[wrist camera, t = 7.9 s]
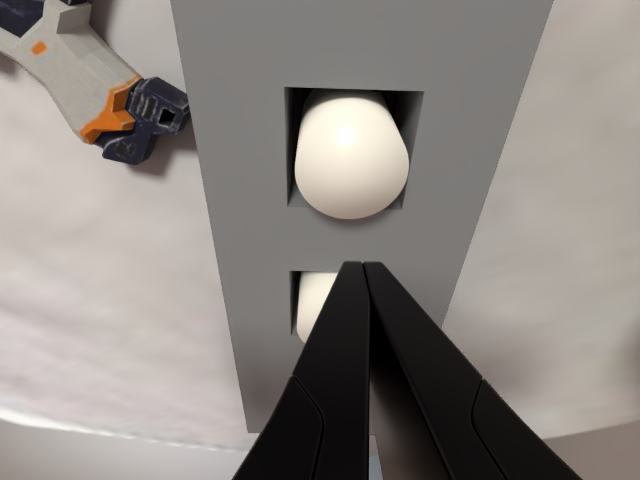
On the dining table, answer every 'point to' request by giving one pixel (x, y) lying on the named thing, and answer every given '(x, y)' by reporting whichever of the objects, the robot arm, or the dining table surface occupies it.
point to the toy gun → (90, 78)
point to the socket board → (277, 148)
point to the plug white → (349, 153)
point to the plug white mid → (312, 299)
